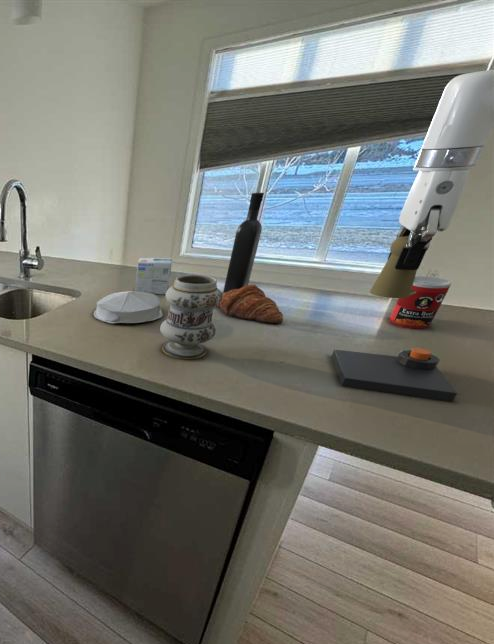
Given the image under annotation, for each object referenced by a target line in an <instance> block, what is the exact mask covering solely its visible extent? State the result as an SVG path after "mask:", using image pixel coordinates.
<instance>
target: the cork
mask: <svg viewBox="0 0 494 644" xmlns="http://www.w3.org/2000/svg"><path fill="white" fill-rule="evenodd" d="M416 237H417V236H415V238H416ZM408 238H409V236H404V237H399V238H397V239H396V238H395V239H394V240H393V241H392V242H391V244H390V247H389V252H391V253H392V254H391V256H390V257H389V256H388V257H389V259H388V258H387V259H388V260H386V262H385V265H384V266H383V268H382V270H381V271H380V272H379V275H378V276H377V278H376V279H375V282H374V283H373V285H372V287H371V288H370V290H369V293H370V294H371V295H374V296H377V297H380V298H387V299H398V298H407V297H409V296H410V294H411V290H412V286H413V283H414V279H415V277H416V274H417V271H418V269H417V270H397V269H396V268H395V265H396V263H397V261H398V258H399V256H400V253H401V251H402V249H403V247H406V245H407V242H408ZM430 244H431V243H430ZM430 244H429V247H428V248H427V250H426V252H427V251H428V250H429V248H430Z"/></svg>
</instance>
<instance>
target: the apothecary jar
mask: <svg viewBox="0 0 494 644" xmlns="http://www.w3.org/2000/svg"><path fill="white" fill-rule="evenodd" d="M217 284H218V281H217V279H216V278H215V277H213V276H210V275H204V274H185V275H179V276H177V277H176V278H175V280H174V284H173V285H171V286H170V287H168V290H167V292H166V294H165V300H166V301H167V303H169V307H168V313H167V317H166V318H165V320H164V321H162V323H160V329H159V330H160V334H161V335H162V337H164V338H165V339H166V340H168V342H165V343H164V344H163V346H162V352H163V353H164V354H166V355H167V356H170V357H172V358H175V359H182V360H195V359H199V358H202V357H204V356H205V355H206V354H207V349H206V348H205V347H204V346H203V345H202V344H204V343H207V342H208V341H210V340H212V339H213V338H214V337H215V335H216V326H215V324H214V323H213V322H212V320H213V316H214V315H213V314H214V309H215V307H216V305H218V304H219V303H220V302H221V300H222V293H221V292H222V291H221V290H220V289H219V288H218V285H217Z"/></svg>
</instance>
